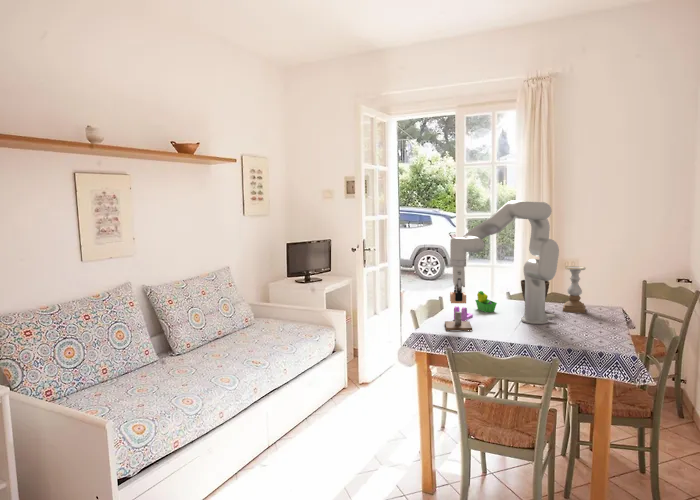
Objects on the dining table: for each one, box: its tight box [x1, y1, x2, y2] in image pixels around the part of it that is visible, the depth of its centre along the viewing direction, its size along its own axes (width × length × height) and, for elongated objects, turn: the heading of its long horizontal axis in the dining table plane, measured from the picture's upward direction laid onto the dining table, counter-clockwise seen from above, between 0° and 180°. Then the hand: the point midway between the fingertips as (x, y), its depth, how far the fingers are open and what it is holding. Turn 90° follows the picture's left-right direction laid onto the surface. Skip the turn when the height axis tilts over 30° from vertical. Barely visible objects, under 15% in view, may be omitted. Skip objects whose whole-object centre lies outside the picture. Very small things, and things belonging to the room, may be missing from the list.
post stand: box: [444, 311, 473, 332], centre depth 238 cm, size 12×12×8 cm
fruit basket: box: [475, 290, 498, 313], centre depth 271 cm, size 11×9×11 cm
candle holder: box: [562, 265, 587, 314], centre depth 267 cm, size 11×11×24 cm
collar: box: [449, 291, 467, 304], centre depth 237 cm, size 7×7×4 cm
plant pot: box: [520, 279, 550, 302], centre depth 270 cm, size 15×15×16 cm
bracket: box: [453, 305, 474, 321], centre depth 256 cm, size 13×6×7 cm, turn 142°
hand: (458, 299), depth 237 cm, fingers closed on collar, 7 cm apart
